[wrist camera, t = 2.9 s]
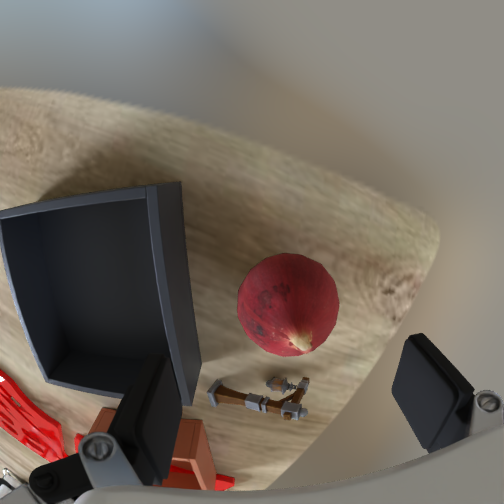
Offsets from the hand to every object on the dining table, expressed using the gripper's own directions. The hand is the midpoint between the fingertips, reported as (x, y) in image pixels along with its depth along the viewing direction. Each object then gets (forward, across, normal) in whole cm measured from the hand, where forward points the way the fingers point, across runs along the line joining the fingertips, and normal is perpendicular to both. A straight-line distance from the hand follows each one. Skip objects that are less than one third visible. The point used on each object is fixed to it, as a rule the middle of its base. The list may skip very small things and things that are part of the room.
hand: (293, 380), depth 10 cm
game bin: (+10, +12, 0) cm, 16 cm away
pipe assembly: (+10, +1, +9) cm, 14 cm away
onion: (+10, -1, 0) cm, 10 cm away
